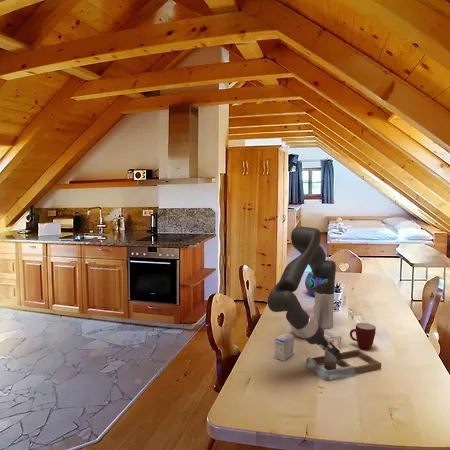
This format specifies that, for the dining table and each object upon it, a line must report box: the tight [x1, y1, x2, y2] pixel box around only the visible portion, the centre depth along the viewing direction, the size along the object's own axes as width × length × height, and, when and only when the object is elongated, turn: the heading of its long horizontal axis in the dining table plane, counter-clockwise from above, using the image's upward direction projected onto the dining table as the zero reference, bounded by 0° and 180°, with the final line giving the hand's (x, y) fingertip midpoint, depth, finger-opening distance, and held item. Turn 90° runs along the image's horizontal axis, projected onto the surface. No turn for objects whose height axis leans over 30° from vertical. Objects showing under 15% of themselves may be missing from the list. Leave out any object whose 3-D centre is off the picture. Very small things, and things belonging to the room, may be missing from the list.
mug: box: [349, 322, 376, 351], centre depth 167 cm, size 10×8×10 cm
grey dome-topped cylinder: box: [323, 348, 337, 370], centre depth 147 cm, size 4×4×8 cm
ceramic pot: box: [304, 270, 328, 297], centre depth 244 cm, size 18×18×15 cm
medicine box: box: [274, 332, 295, 362], centre depth 158 cm, size 8×4×9 cm, turn 141°
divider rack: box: [305, 349, 382, 382], centre depth 149 cm, size 14×25×4 cm, turn 111°
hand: (333, 353), depth 147 cm, fingers open, 8 cm apart
